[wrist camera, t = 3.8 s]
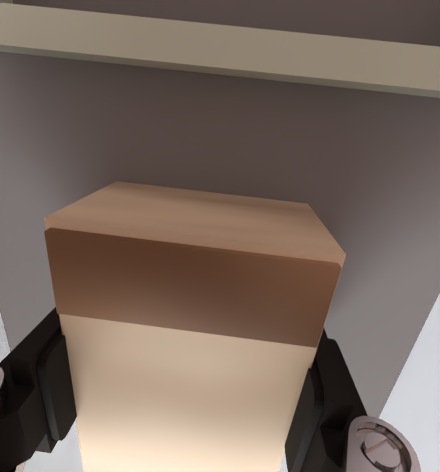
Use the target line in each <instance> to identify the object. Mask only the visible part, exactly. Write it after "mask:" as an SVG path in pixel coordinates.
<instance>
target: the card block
mask: <svg viewBox="0 0 440 472" xmlns="http://www.w3.org/2000/svg"><path fill="white" fill-rule="evenodd" d="M44 220H45V227H46V230H45V231H44V235H45V241H46V247H47V254H48V260H49V266H50V273H51V279H52V285H53V292H54V298H55V304H56V311H57V314H59V317H60V324H61V330H62V335H65V338H66V345H67V352H68V358H69V365H70V372H71V378H72V385H73V392H74V398H75V405H76V412H77V417H76V419H75V420H76V427H77V433H78V440H79V446H80V453H81V459H82V466H83V472H279V469H280V466H281V463H282V460H283V456H284V453H285V442H286V439H287V436H288V433H289V429H290V426H291V423H292V419H293V416H294V413H295V410H296V406H297V403H298V400H299V397H300V393H301V390H302V387H303V384H304V380H305V377H306V374H307V370H308V368H311V367H312V363H313V360H314V357H315V354H316V351H317V347H318V344H319V341H320V338H321V334H322V331H323V328H324V325H325V322H326V318H327V315H328V312H329V309H330V306H331V302H332V299H333V296H334V293H335V289H336V286H337V283H338V280H339V277H340V273H341V270H342V267H343V264H344V261H345V257H346V254H345V252H344V251H343V250H342V248H341V247H340V246H339V244H338V243H337V242H336V240H335V239H334V238H333V236H332V235H331V234H330V232H329V231H328V230H327V228H326V227H325V226H324V224H323V223H322V222H321V220H320V219H319V218H318V216H317V215H316V214H315V212H314V211H313V210H312V209H311V207H310V206H309V205H308V204H306V203H298V202H289V201H281V200H272V199H264V198H255V197H247V196H238V195H230V194H221V193H213V192H204V191H196V190H187V189H179V188H170V187H162V186H153V185H145V184H136V183H128V182H119V181H116V182H114V183H112V184H110V185H108V186H106V187H104V188H102V189H100V190H98V191H96V192H94V193H92V194H90V195H88V196H86V197H84V198H82V199H80V200H78V201H76V202H74V203H72V204H70V205H68V206H66V207H64V208H62V209H60V210H58V211H56V212H54V213H52V214H50V215H48V216H46V217H44Z"/></svg>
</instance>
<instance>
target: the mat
mask: <svg viewBox="0 0 440 472" xmlns="http://www.w3.org/2000/svg"><path fill="white" fill-rule="evenodd" d="M13 4H19V5H29V6H39V7H49V8H59V9H69V10H79V11H89V12H99V13H109V14H119V15H128V16H138V17H148V18H158V19H168V20H178V21H188V22H198V23H208V24H218V25H228V26H238V27H248V28H258V29H268V30H278V31H288V32H298V33H308V34H318V35H328V36H338V37H348V38H358V39H368V40H378V41H388V42H398V43H408V44H418V45H428V46H438V47H440V0H13ZM116 181H119V182H128V183H136V184H145V185H153V186H162V187H170V188H179V189H187V190H196V191H204V192H213V193H221V194H230V195H238V196H247V197H255V198H264V199H272V200H281V201H289V202H298V203H306V204H308V205H309V206H310V207H311V209H312V210H313V211H314V212H315V214H316V215H317V216H318V218H319V219H320V220H321V222H322V223H323V224H324V226H325V227H326V228H327V230H328V231H329V232H330V234H331V235H332V236H333V238H334V239H335V240H336V242H337V243H338V244H339V246H340V247H341V248H342V250H343V251H344V252H345V254H346V257H345V261H344V264H343V267H342V270H341V273H340V277H339V280H338V283H337V286H336V289H335V293H334V296H333V299H332V302H331V306H330V309H329V312H328V315H327V318H326V322H325V325H324V329H325V332H326V334H327V337H328V338H330V339H334V340H336V342H337V344H338V346H339V348H340V350H341V353H342V355H343V357H344V360H345V362H346V365H347V367H348V369H349V372H350V374H351V377H352V379H353V381H354V384H355V386H356V389H357V391H358V393H359V396H360V398H361V401H362V403H363V405H364V408H365V410H366V412H367V415H368V416H372V417H375V418H379V416H380V414H381V412H382V410H383V408H384V406H385V404H386V402H387V400H388V397H389V395H390V393H391V391H392V389H393V387H394V385H395V383H396V381H397V379H398V377H399V375H400V373H401V371H402V369H403V367H404V365H405V363H406V361H407V358H408V356H409V354H410V352H411V350H412V348H413V346H414V344H415V342H416V340H417V338H418V336H419V334H420V332H421V330H422V328H423V326H424V324H425V322H426V320H427V317H428V315H429V313H430V311H431V309H432V307H433V305H434V303H435V301H436V299H437V297H438V295H439V293H440V98H437V97H427V96H418V95H408V94H399V93H389V92H380V91H370V90H361V89H351V88H342V87H332V86H323V85H313V84H304V83H294V82H285V81H275V80H266V79H256V78H247V77H238V76H228V75H219V74H209V73H200V72H190V71H181V70H171V69H162V68H152V67H143V66H133V65H124V64H114V63H105V62H95V61H86V60H76V59H67V58H57V57H48V56H38V55H29V54H19V53H10V52H0V312H1V316H2V320H3V324H4V328H5V331H6V335H7V339H8V343H9V347H10V351H12V350H13V349H14V348H15V347H16V346H17V345H18V344H19V343H20V342H21V341H22V340H23V339H24V338H25V337H26V336H27V335H28V334H29V333H30V332H31V331H32V330H33V329H34V328H35V327H36V326H37V325H38V324H39V323H40V322H41V321H42V320H43V319H44V318H45V317H46V316H47V315H48V314H49V313H50V312H51V311H52V310H53V309H54V308H55V307H56V304H55V298H54V292H53V285H52V279H51V273H50V266H49V260H48V254H47V247H46V241H45V235H44V231H45V230H46V227H45V220H44V217H46V216H48V215H50V214H52V213H54V212H56V211H58V210H60V209H62V208H64V207H66V206H68V205H70V204H72V203H74V202H76V201H78V200H80V199H82V198H84V197H86V196H88V195H90V194H92V193H94V192H96V191H98V190H100V189H102V188H104V187H106V186H108V185H110V184H112V183H114V182H116Z"/></svg>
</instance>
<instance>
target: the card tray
mask: <svg viewBox="0 0 440 472" xmlns="http://www.w3.org/2000/svg"><path fill="white" fill-rule="evenodd" d="M0 52H10V53H19V54H29V55H38V56H48V57H57V58H67V59H76V60H86V61H95V62H105V63H114V64H124V65H133V66H143V67H152V68H162V69H171V70H181V71H190V72H200V73H209V74H219V75H228V76H238V77H247V78H256V79H266V80H275V81H285V82H294V83H304V84H313V85H323V86H332V87H342V88H351V89H361V90H370V91H380V92H389V93H399V94H408V95H418V96H427V97H437V98H440V47H438V46H428V45H418V44H408V43H398V42H388V41H378V40H368V39H358V38H348V37H338V36H328V35H318V34H308V33H298V32H288V31H278V30H268V29H258V28H248V27H238V26H228V25H218V24H208V23H198V22H188V21H178V20H168V19H158V18H148V17H138V16H128V15H119V14H109V13H99V12H89V11H79V10H69V9H59V8H49V7H39V6H29V5H19V4H13V0H0Z"/></svg>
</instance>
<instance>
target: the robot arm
mask: <svg viewBox="0 0 440 472" xmlns="http://www.w3.org/2000/svg"><path fill="white" fill-rule="evenodd" d="M76 417H77V412H76V405H75V398H74V392H73V385H72V378H71V372H70V365H69V358H68V352H67V345H66V338H65V335H62V330H61V324H60V317H59V314H57V311H56V307H55V308H54V309H53V310H52V311H51V312H50V313H49V314H48V315H47V316H46V317H45V318H44V319H43V320H42V321H41V322H40V323H39V324H38V325H37V326H36V327H35V328H34V329H33V330H32V331H31V332H30V333H29V334H28V335H27V336H26V337H25V338H24V339H23V340H22V341H21V342H20V343H19V344H18V345H17V346H16V347H15V348H14V349H13V350H12V351H11V352H10V353H9V354H8V355H7V356H6V357H5V358H4V359H3V360H2V361H1V362H0V472H23V469H24V466H25V462H26V461H27V460H28V459H30V458H31V457H32V455H33V454H34V452H35V451H40V452H47V453H51V452H52V450H53V448H54V447H55V445H56V443H57V441H58V440H61V441H62V440H63V439H64V438H65V437H66V435H67V434H68V432H69V430H70V428H71V426H72V425H73V423H74V421H75V419H76ZM285 454H286V462H287V469H288V472H421V469H420V464H419V461H418V457H417V454H416V452H415V451H414V449H413V447H412V446H411V444H410V443H409V441H408V440H407V439H406V438H405V437H404V436H403V435H402V433H400V432H399V431H398V430H397V429H396V428H394V427H393V426H392V425H390V424H389V423H387V422H385V421H383V420H381V419H379V418H375V417H372V416H368V415H367V412H366V410H365V408H364V405H363V403H362V401H361V398H360V396H359V393H358V391H357V389H356V386H355V384H354V381H353V379H352V377H351V374H350V372H349V369H348V367H347V365H346V362H345V360H344V357H343V355H342V353H341V350H340V348H339V346H338V344H337V342H336V340H334V339H330V338H328V337H327V334H326V332H325V329H324V328H323V331H322V334H321V338H320V341H319V344H318V347H317V351H316V354H315V357H314V360H313V363H312V367H311V368H308V370H307V374H306V377H305V380H304V384H303V387H302V390H301V393H300V397H299V400H298V403H297V406H296V410H295V413H294V416H293V419H292V423H291V426H290V429H289V433H288V436H287V439H286V442H285Z"/></svg>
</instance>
